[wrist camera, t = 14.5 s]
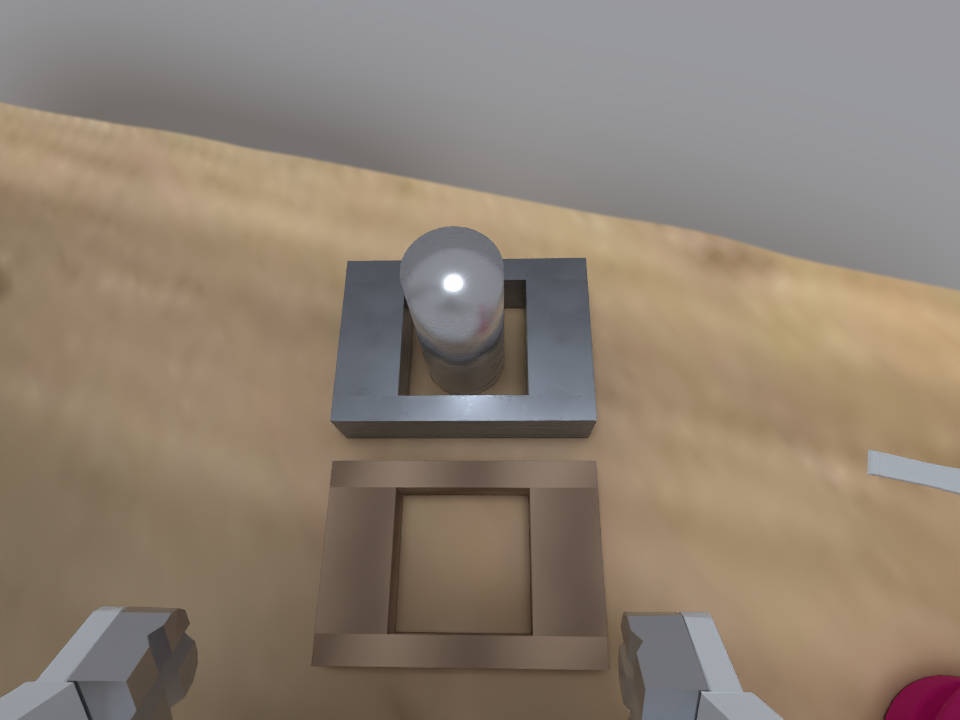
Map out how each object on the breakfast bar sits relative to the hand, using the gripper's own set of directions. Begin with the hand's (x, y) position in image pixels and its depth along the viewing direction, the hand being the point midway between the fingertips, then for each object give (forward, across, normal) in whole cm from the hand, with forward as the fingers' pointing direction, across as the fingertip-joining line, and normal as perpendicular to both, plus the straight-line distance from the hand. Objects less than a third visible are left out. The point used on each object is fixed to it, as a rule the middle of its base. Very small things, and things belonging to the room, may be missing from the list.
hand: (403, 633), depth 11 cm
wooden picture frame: (+13, 0, +10) cm, 17 cm away
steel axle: (+20, 0, +3) cm, 21 cm away
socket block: (+20, 0, +3) cm, 21 cm away
